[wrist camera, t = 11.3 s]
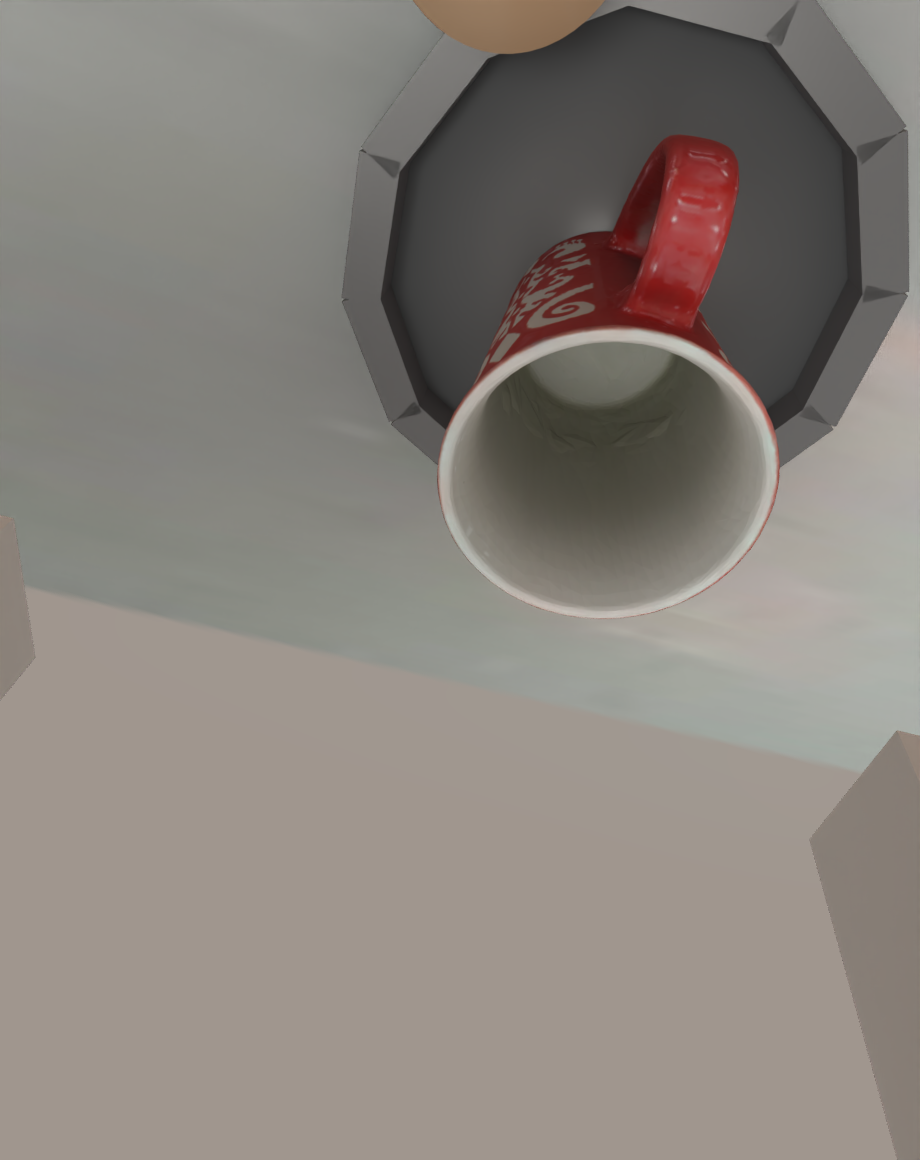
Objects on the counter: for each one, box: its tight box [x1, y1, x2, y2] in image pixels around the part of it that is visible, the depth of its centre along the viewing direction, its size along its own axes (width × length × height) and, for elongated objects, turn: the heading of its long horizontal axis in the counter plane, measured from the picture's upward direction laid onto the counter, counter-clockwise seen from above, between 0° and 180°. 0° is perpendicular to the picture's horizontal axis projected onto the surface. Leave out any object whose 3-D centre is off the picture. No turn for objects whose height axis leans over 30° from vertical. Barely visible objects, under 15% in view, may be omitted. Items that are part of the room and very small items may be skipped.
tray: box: [342, 0, 909, 467], centre depth 31 cm, size 20×20×3 cm
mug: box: [437, 134, 780, 619], centre depth 26 cm, size 13×9×14 cm
